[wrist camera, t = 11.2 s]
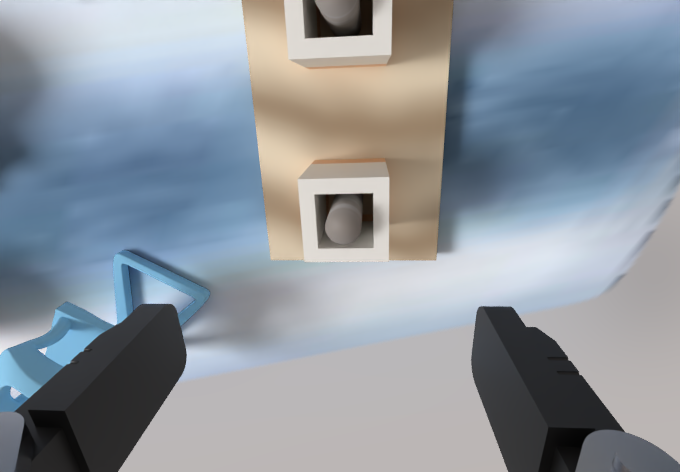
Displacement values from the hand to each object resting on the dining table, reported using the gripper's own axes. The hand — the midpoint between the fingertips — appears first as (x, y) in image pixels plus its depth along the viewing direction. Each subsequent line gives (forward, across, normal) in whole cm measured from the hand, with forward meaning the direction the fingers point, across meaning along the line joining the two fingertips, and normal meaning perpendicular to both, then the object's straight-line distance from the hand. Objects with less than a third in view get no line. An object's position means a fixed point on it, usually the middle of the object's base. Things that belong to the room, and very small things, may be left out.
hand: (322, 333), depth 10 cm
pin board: (+17, 0, -5) cm, 18 cm away
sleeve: (+16, 0, 0) cm, 16 cm away
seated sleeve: (+16, 0, -10) cm, 19 cm away
